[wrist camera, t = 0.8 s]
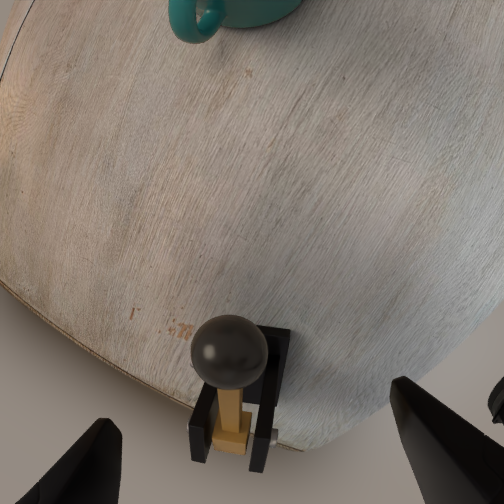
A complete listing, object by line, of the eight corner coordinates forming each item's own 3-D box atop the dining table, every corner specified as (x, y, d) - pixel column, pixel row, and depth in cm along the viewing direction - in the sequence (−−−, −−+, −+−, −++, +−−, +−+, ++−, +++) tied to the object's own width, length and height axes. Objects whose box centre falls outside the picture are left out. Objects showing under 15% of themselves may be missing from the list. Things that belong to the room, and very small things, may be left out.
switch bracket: (216, 318, 25) (177, 404, 16) (290, 329, 25) (284, 422, 15) (214, 388, 28) (186, 470, 19) (277, 398, 27) (267, 485, 18)
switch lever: (198, 293, 13) (175, 355, 11) (275, 304, 13) (265, 371, 10) (215, 415, 21) (206, 453, 19) (258, 422, 21) (251, 461, 18)
